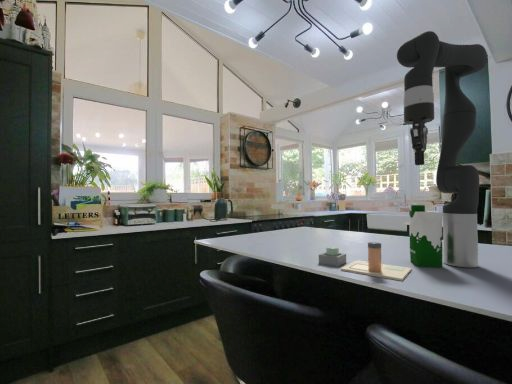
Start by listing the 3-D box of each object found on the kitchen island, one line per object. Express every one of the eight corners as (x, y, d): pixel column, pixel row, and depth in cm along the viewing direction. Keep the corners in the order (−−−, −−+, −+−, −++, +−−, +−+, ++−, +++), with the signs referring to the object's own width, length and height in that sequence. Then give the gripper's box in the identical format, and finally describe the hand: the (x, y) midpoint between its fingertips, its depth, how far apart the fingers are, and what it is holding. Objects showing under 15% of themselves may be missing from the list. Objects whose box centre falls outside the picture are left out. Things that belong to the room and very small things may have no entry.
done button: (329, 257, 95) (329, 246, 96) (340, 259, 93) (340, 247, 93) (324, 259, 92) (324, 248, 92) (335, 261, 90) (335, 249, 90)
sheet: (356, 261, 94) (356, 260, 94) (411, 270, 83) (411, 267, 83) (341, 270, 83) (341, 268, 83) (402, 280, 72) (402, 278, 72)
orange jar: (370, 268, 83) (369, 241, 83) (383, 270, 80) (382, 243, 80) (366, 270, 80) (366, 243, 80) (379, 272, 77) (379, 244, 78)
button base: (327, 259, 97) (327, 251, 97) (346, 262, 93) (346, 253, 93) (318, 263, 92) (318, 254, 92) (338, 266, 88) (338, 257, 88)
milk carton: (406, 260, 95) (405, 204, 95) (435, 262, 93) (433, 205, 94) (416, 267, 86) (415, 205, 87) (447, 268, 85) (446, 205, 85)
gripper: (430, 95, 70) (432, 161, 69) (436, 108, 80) (437, 166, 80) (399, 102, 74) (400, 164, 74) (408, 113, 85) (409, 168, 84)
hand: (419, 165), depth 77 cm, fingers closed
